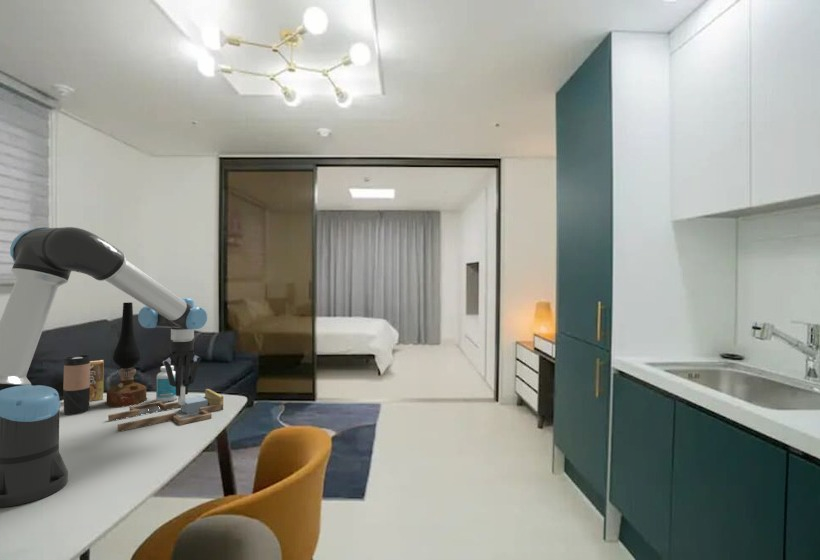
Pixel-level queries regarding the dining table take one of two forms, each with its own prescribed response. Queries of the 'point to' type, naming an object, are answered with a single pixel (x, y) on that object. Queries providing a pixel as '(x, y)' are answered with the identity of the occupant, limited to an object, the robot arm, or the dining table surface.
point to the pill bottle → (165, 386)
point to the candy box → (96, 380)
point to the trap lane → (203, 414)
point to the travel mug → (76, 384)
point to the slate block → (194, 404)
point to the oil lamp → (126, 365)
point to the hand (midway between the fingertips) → (181, 403)
